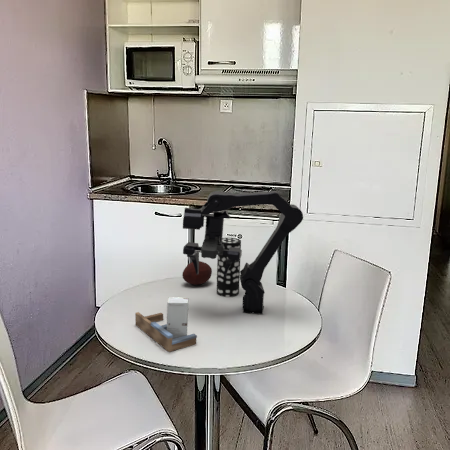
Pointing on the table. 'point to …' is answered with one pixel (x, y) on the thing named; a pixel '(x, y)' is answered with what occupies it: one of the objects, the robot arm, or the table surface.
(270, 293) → the table surface
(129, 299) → the table surface
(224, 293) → the spotted tube
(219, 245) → the robot arm
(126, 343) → the table surface
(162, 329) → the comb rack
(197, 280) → the potato
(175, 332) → the skincare box
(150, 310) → the table surface
